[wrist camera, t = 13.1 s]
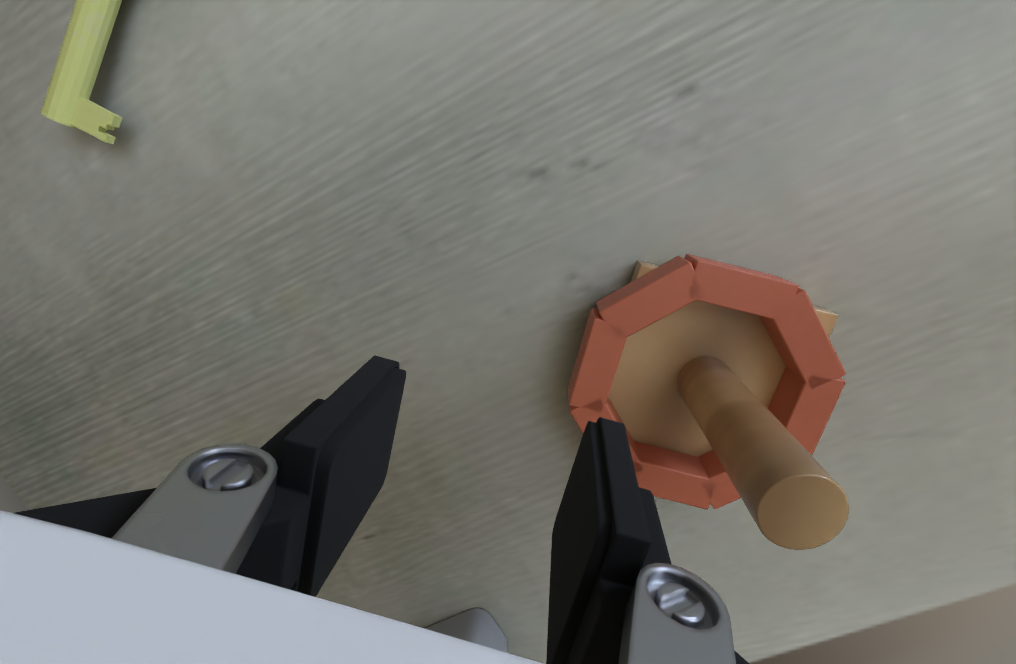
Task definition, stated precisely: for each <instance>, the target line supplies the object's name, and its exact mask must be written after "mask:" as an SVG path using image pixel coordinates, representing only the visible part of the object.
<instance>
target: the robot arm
mask: <svg viewBox="0 0 1016 664" xmlns="http://www.w3.org/2000/svg"><path fill="white" fill-rule="evenodd" d="M405 379H406V371H405V370H402V369H399V362H397V361H393V360H390V359H386V358H382V357H379V356H373V357H372V358H371V359H370V360H369V361H368V362H367V363H366V364H364V365H363V366H362V367H361V368H360V369H359V370H358V371H357V372H356V373H355V374H353V375H352V376H351V377H350V378H349V379H348V380H347V381H346V382H345V383H344V384H343V385H341V386H340V387H339V388H338V389H337V390H336V391H335V392H334V393H333V394H332V395H331V396H329V397H328V398H327V399H326V400H323V399H317V400H315V401H314V402H312V403H311V404H310V405H309V406H308V407H307V408H306V409H305V410H303V411H302V412H301V413H300V414H299V415H298V416H297V417H295V418H294V419H293V420H292V421H291V422H290V423H289V424H287V425H286V426H285V427H284V428H283V429H282V430H281V431H279V432H278V433H277V434H276V435H275V436H274V437H273V438H271V439H270V440H269V441H268V442H267V443H266V444H265V445H263V446H262V447H261V448H257V447H253V446H249V445H241V444H224V445H215V446H211V447H207V448H203V449H200V450H198V451H196V452H194V453H192V454H190V455H188V456H187V457H186V458H185V459H183V460H182V461H181V462H180V463H179V464H178V465H177V466H176V467H175V468H174V470H173V471H172V472H171V473H170V474H169V475H168V476H167V477H166V478H165V480H164V481H163V482H162V483H161V484H160V485H159V486H158V487H157V488H153V489H147V490H142V491H136V492H130V493H125V494H119V495H113V496H107V497H102V498H96V499H90V500H85V501H79V502H73V503H67V504H62V505H56V506H50V507H45V508H39V509H33V510H28V511H22V512H16V513H10V512H5V511H0V664H543V663H540V662H536V661H533V660H530V659H526V658H523V657H519V656H516V655H513V654H509V653H506V652H502V651H499V650H496V649H492V648H489V647H485V646H482V645H479V644H475V643H472V642H468V641H465V640H462V639H458V638H455V637H451V636H448V635H444V634H441V633H438V632H434V631H431V630H427V629H424V628H421V627H417V626H414V625H410V624H407V623H403V622H400V621H396V620H393V619H390V618H386V617H383V616H379V615H376V614H372V613H369V612H365V611H362V610H358V609H355V608H351V607H348V606H345V605H341V604H338V603H334V602H331V601H327V600H324V599H320V598H317V597H316V595H317V594H318V592H319V590H320V589H321V587H322V585H323V584H324V582H325V580H326V579H327V577H328V575H329V574H330V572H331V570H332V569H333V567H334V565H335V564H336V562H337V561H338V559H339V557H340V556H341V554H342V552H343V551H344V549H345V547H346V546H347V544H348V542H349V541H350V539H351V537H352V536H353V534H354V532H355V531H356V529H357V527H358V526H359V524H360V522H361V521H362V519H363V517H364V516H365V514H366V512H367V511H368V509H369V507H370V506H371V504H372V502H373V501H374V499H375V498H376V496H377V494H378V493H379V491H380V489H381V487H382V485H383V483H384V480H385V477H386V474H387V469H388V464H389V459H390V454H391V449H392V444H393V439H394V434H395V429H396V424H397V419H398V414H399V409H400V404H401V399H402V394H403V389H404V384H405ZM546 664H749V663H748V662H747V661H746V660H744V659H743V658H742V657H741V656H740V655H739V654H738V653H737V652H735V651H734V645H733V637H732V629H731V622H730V616H729V613H728V610H727V607H726V605H725V604H724V602H723V601H722V599H721V598H720V596H719V595H718V594H717V593H716V592H715V591H714V589H713V588H712V587H711V586H710V585H709V584H707V583H706V582H705V581H703V580H702V579H701V578H699V577H698V576H697V575H695V574H693V573H691V572H689V571H687V570H685V569H683V568H681V567H678V566H675V565H671V561H670V557H669V553H668V550H667V546H666V542H665V538H664V535H663V531H662V527H661V523H660V520H659V516H658V512H657V509H656V505H655V501H654V497H653V494H652V492H651V491H650V490H647V489H644V488H640V487H639V486H638V482H637V477H636V473H635V468H634V464H633V460H632V455H631V451H630V447H629V442H628V438H627V434H626V429H625V425H624V423H620V422H616V421H613V420H609V419H605V418H602V417H599V418H598V420H597V422H592V421H588V423H587V425H586V427H585V430H584V433H583V437H582V440H581V443H580V446H579V449H578V452H577V455H576V458H575V461H574V464H573V467H572V470H571V473H570V476H569V480H568V483H567V486H566V489H565V492H564V495H563V498H562V501H561V504H560V507H559V510H558V513H557V516H556V520H555V523H554V528H553V533H552V549H551V572H550V594H549V617H548V639H547V662H546Z"/></svg>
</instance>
